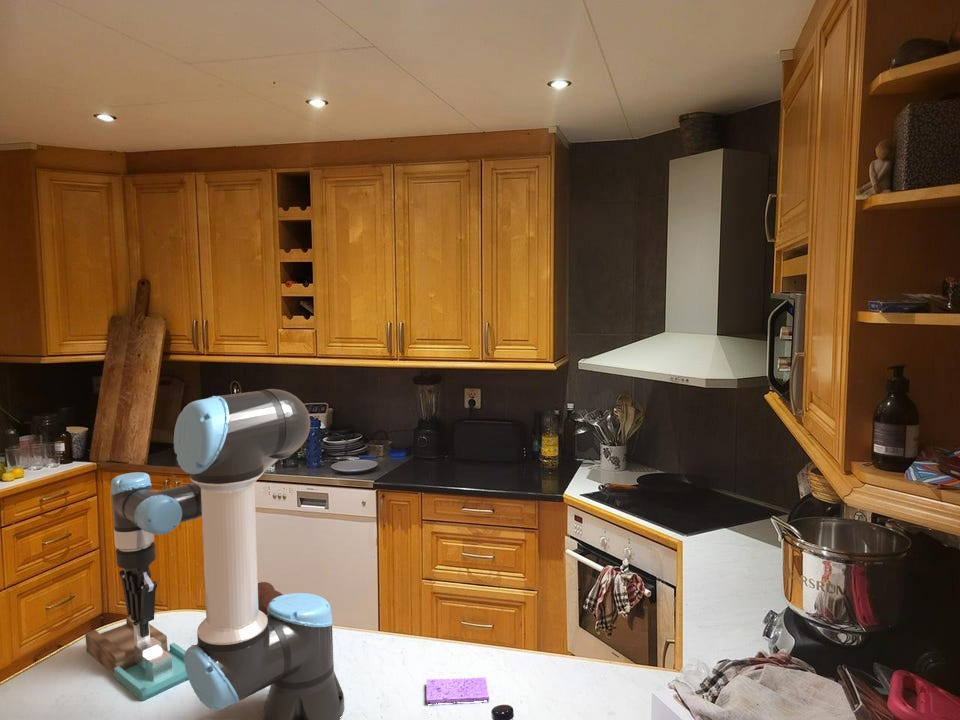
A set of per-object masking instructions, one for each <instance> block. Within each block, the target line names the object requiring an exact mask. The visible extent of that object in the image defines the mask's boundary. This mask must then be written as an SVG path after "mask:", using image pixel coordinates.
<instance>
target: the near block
mask: <svg viewBox="0 0 960 720" xmlns="http://www.w3.org/2000/svg"><path fill="white" fill-rule="evenodd" d="M144 666H145V675H146V676H148V677H149V678H150V679H151V680H153V681H156V680H158V679H160V678H163V677H165V676H167V675H169V674H171V673H173V669H172V655H171V654H169V653H168V652H166V651H165V650H163V649H161V650H159V651H157V652H154V653H152V654H150V655H147V656H145V657H144Z"/></svg>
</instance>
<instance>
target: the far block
mask: <svg viewBox="0 0 960 720" xmlns="http://www.w3.org/2000/svg"><path fill="white" fill-rule="evenodd" d="M134 649H135V660H136V663H138V664H139V665H140V666H142V667H143V668H145V666H144V657H145V656H147V655H150V654H152V653H154V652H157V651H159V650H161V649H162V644H161V642H160V641H158V640H157V639H155V638H154V637H151V638H149V639H146V640H144V641H142V642H139V643H137V644H134Z"/></svg>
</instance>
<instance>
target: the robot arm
mask: <svg viewBox="0 0 960 720" xmlns="http://www.w3.org/2000/svg"><path fill="white" fill-rule="evenodd" d="M174 426H175V427H174V435H173V451H174V454H176V461H177V463H178V466H180V468H181V470H182V471H183V472H185V473H187V474H189V477H190V481H191V483H186V484H183V485H179V486H174V487H170V488H165V489H162V490H158V491H156V490H154V489H152V483H151V476H150V475H149V473H146V472H140V471H139V472H138V471H136V472H135V471H133V472H129V473H123V474H120V475H117V476H115V477H114V478H112V480H111V481H110V482H111V483H110V497H111V507H112V519H113V535H114V537H113V538H114V547H115V548H116V550H115V557H116V565H117V567H119V568H120V569H121V570H119V572H118V573H119V577H120V580H121V583H122V590H123V595H124V600H125V601H124V602H125V606H126V613H127V616H131V619H132V620H133V621H134V622H133V627H134V640H135V644H137V643H139V642H142V641H144V640H146V639H149V638H150V628H149V624H150V621H153V620H155V610H156V609H155V608H156V591H157V587H158V582H157V581H156V580H154V581H152V580H151V577H152V572H151V569H150V565H151V564H152V563H153V562H154V561H155V560H156V558H157V557H156V555H157V554H156V543H155V542H154V541H155V535H157V536H158V535H159V536H160V535H162V536H163V535H166V534H169V533H170V532H172V531H173V530H174V529H176V528H177V527H178V526H179V524H182V523H186V522H189V521H192V520H195V519H199V518H201V521H202V523H201V524H202V526H201V527H202V528H201V529H202V547H203V548H202V549H203V573H204V575H203V576H204V594H205V596H204V597H205V618H204V619H203V620H202V621H201V622H200V623H199V625H198V626H197V631H196V632H197V636H196V637H197V643H196V644H192V645H190V647H188V648H187V649H186V650H185V651H186V652H185V655H184V664H185V669H186V673H187V676H188V681H189V683H190V686H191V688H192V690H193V692H194V693H195V695H196V697H197V698H198V699H199V701H200V702H201V704H203V705H204V706H205V707H206V708H207V709H209V710H210V711H211V710H212V711H221V710H224V709H225V708H228V707H230V706H232V705H237V704H239V702H241V701H243V700H244V699H246V698H249V697H250V696H252V695H254V694H256V693H258V692H260V691H262V690H264V689H265V688H267V687H269V691H268V693H267V699H266V701H265V704H264V707H263V720H339V719H340V720H341V718H342V717H341V716H343V715H344V713H345V695H344V692H343V690H342V686H341V685H340V682H339V680H338V679H339V678H338V677H337V674H336V671H335V669H334V668H335V666H334V639H333V637H334V636H333V624H334V621H333V620H334V619H333V613H332V608H331V604H330V603H329V601H328V600H327V599H325V598H324V597H322V596H321V595H317V594H313V593H306V592H292V593H285V594H283V595H281V596H278V597H276V598H274V599H273V600H271V602H270V603H269V605H268V608H267V612H268V614H267V615H265V614H264V613H263V612H262V611H260V610H259V609H258V583H259V582H258V553H257V552H258V551H257V549H258V547H257V521H256V520H257V518H256V517H257V515H256V514H257V513H256V488H255V487H256V486H255V483H256V482H257V480H259V478H260V477H262V476H263V474H264V473H265V472H266V471H267V470H269V468H271V467H272V466H273V465H274V464H275V463H276V462H277V461H278V460H284V459H287V458H289V457H291V456H292V455H293V454H294V453H295V452H297V451H298V450H299V449H300V448H301V447H302V446H303V445H304V443H305V442H306V441H307V439H308V437H309V434H310V431H311V417H310V413H309V411H308V408H307V407H306V405H305V403H304V402H303V401H301V399H300V398H298V397H297V396H296V395H294V394H292V393H291V392H288V391H286V390H282V389H278V388H276V389H275V388H269V389H267V388H266V389H261V390H257V391H248V392H240V393H233V394H225V395H224V394H223V395H212V396H209V397H208V398H203V399H197V400H194V401H191V402H189V403H188V404H187V405H186V406H184V407H183V409H182V411H181V412H180V413H179V415H178V416H177V419H176V423H175V425H174ZM343 712H344V713H343ZM340 717H341V718H340Z"/></svg>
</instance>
